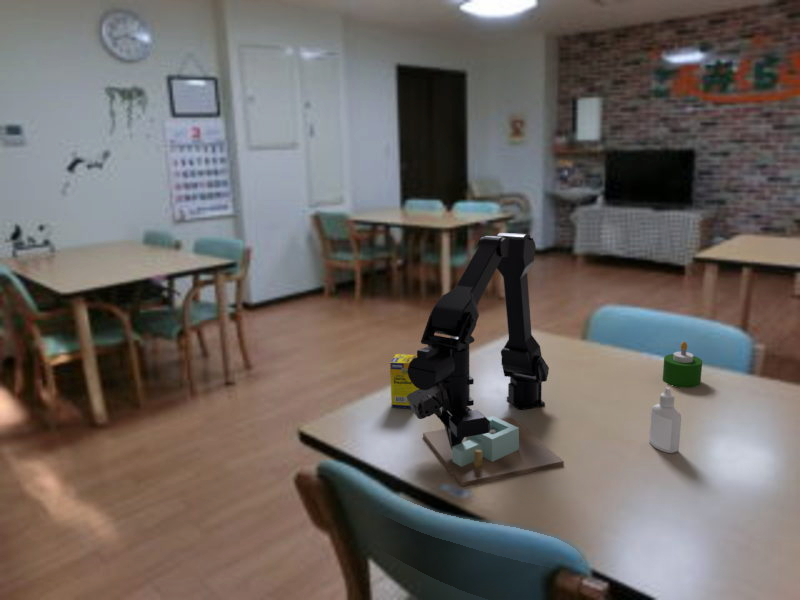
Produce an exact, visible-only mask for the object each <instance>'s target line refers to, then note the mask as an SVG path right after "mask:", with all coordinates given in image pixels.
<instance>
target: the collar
mask: <svg viewBox="0 0 800 600" xmlns="http://www.w3.org/2000/svg"><path fill="white" fill-rule="evenodd" d="M486 418H487V419H488V420H489V421H490V428H492V429H495V430H496V433H495V434H493V435H492V434H490V433H486V434H480V435H475V436H469V437H466V441H465V442H463V443H461V444H458V445H456V446H453V447H452V458H453V462H454V463H456V464H457V465H459V466H461V467H462V466H464V465H467V464H469V463H471V462H473V461H474V451H475V450H481V451H482V457H484V458H486V459H488V460H490V461H492V462H493V461H495V460H497V459H499V458H501V457H504V456H506V455H508V454H510V453H512V452H515V451H517V450H519V428H518V427H516V426H514V425H512V424H509V423H507V422H505V421H503V420H501V419H502V418H498V417H496V416H495V415H491V416H488V417H486Z"/></svg>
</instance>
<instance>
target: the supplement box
mask: <svg viewBox="0 0 800 600" xmlns="http://www.w3.org/2000/svg"><path fill="white" fill-rule="evenodd" d="M416 357H417V354H405V353H404V354H403V353H396V354H394V356H393V358H392V359H391V360H390V362H389V371H390V372H389V373H390V397H391V408H393V409H395V408H396V409H411V406H410V404H409V402H408V399H407V396H408V395H409V394H410V393H412V392H414V391H416V390H418V389H419V388H417V387H416V386H414V385H413V383H412V382H411V380H410V379H409V376H408V367H409V364H410V362H411V361H412V360H413V359H414V358H416Z"/></svg>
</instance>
